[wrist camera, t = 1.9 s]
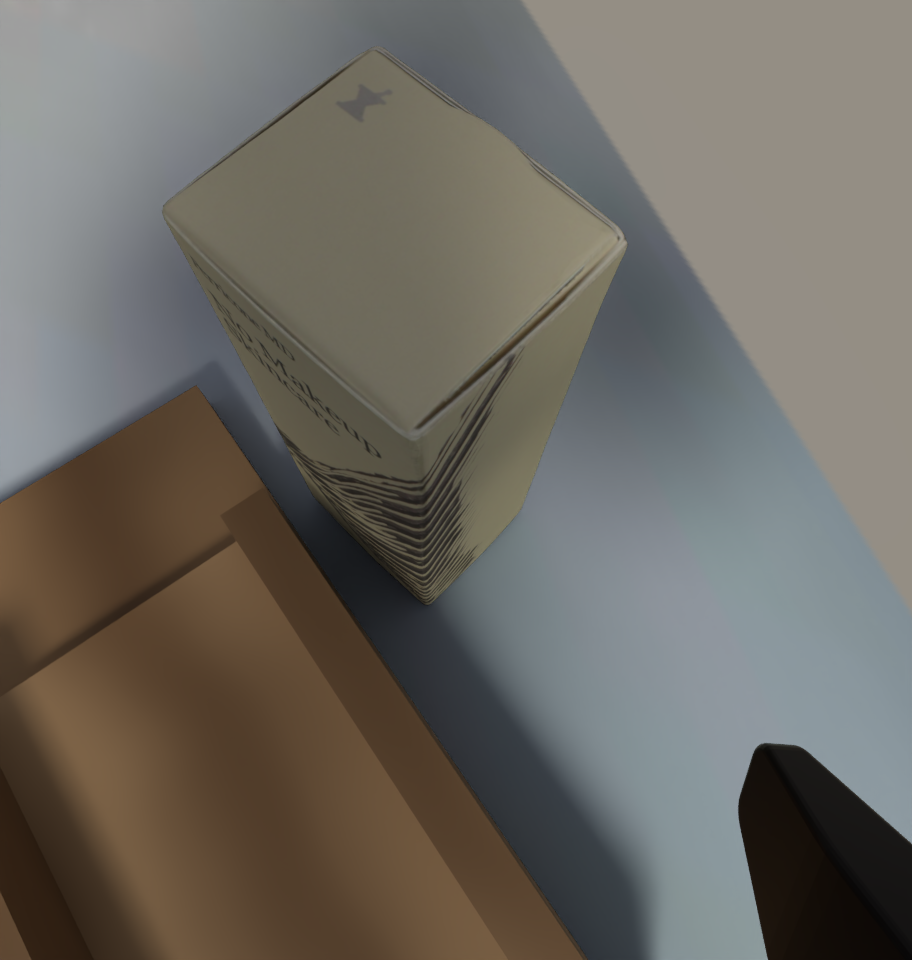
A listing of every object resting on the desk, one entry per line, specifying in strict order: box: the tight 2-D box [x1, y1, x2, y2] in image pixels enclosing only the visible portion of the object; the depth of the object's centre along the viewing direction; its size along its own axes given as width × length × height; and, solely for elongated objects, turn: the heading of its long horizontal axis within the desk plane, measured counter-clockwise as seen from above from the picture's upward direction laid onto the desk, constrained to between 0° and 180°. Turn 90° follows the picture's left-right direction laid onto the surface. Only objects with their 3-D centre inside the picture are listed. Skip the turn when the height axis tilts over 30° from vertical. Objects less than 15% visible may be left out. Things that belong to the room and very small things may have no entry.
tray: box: [0, 386, 588, 960], centre depth 17 cm, size 10×21×4 cm, turn 36°
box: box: [162, 46, 628, 605], centre depth 16 cm, size 5×4×13 cm
